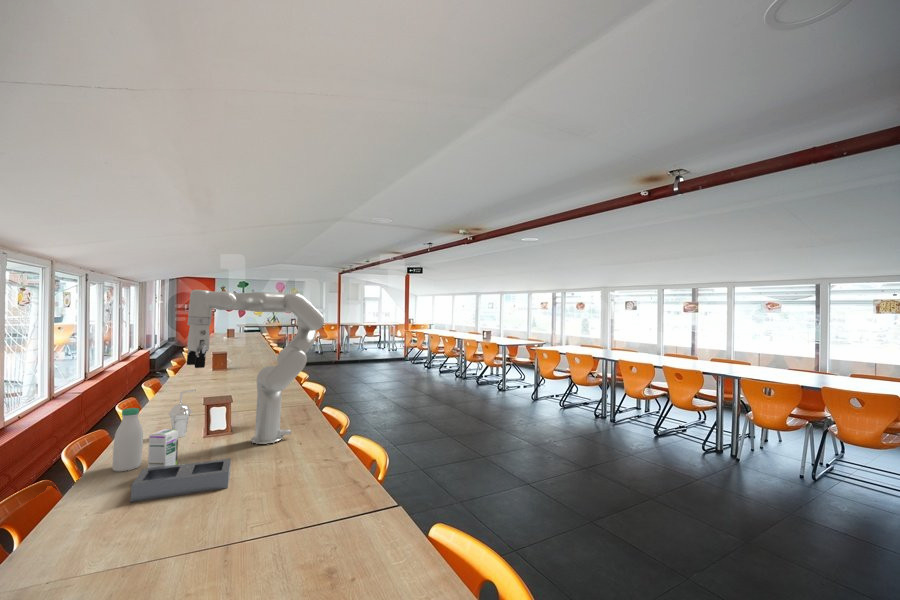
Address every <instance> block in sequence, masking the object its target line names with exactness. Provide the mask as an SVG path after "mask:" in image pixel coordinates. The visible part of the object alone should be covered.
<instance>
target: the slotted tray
mask: <svg viewBox="0 0 900 600" xmlns="http://www.w3.org/2000/svg"><path fill="white" fill-rule="evenodd" d="M231 465H232V458H225V459H224V458H223V459H214V460H207V461H206V460H205V461H199V462H190V463H188V462H187V463H181V464H177V465H172V466H163V467H155V468H148V467H146V468H143V469H142V470H140V472H139V473H138V475H137V476H136V478H135V479H134V480H133V482H132V484H131V488H130V490H131V491H130V504H131V503H135V502H143V501H149V500H155V499H156V500H157V499H164V498H170V497H176V496H184V495H191V494H196V492H198V493H202V492H204V491H205V492H211V491H218V490H224V489H223V488H225V489H229V482H230V476H231ZM217 489H218V490H217ZM205 492H204V493H205Z"/></svg>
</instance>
